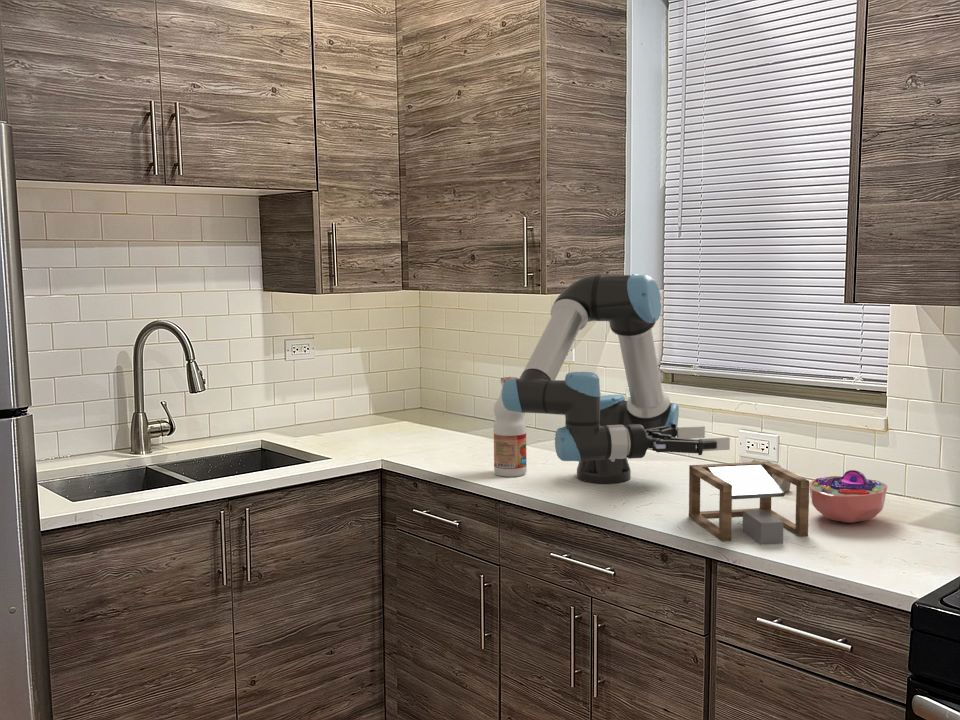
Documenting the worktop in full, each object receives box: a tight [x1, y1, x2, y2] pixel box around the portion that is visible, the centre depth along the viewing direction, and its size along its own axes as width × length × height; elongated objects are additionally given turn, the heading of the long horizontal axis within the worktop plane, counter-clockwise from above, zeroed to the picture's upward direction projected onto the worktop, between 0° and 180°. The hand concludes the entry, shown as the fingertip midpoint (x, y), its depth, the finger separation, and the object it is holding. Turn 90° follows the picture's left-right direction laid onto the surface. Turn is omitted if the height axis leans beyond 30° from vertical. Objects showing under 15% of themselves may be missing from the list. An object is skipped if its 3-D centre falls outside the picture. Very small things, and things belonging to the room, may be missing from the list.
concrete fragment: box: [751, 459, 791, 493], centre depth 250 cm, size 8×16×7 cm, turn 15°
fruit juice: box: [493, 376, 527, 478], centre depth 268 cm, size 9×9×28 cm
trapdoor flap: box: [705, 465, 786, 500], centre depth 215 cm, size 14×14×1 cm
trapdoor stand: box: [688, 460, 810, 542], centre depth 215 cm, size 20×20×12 cm
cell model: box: [809, 469, 888, 524], centre depth 219 cm, size 17×20×11 cm
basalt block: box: [742, 510, 784, 546], centre depth 206 cm, size 5×5×10 cm
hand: (716, 437), depth 209 cm, fingers open, 13 cm apart
